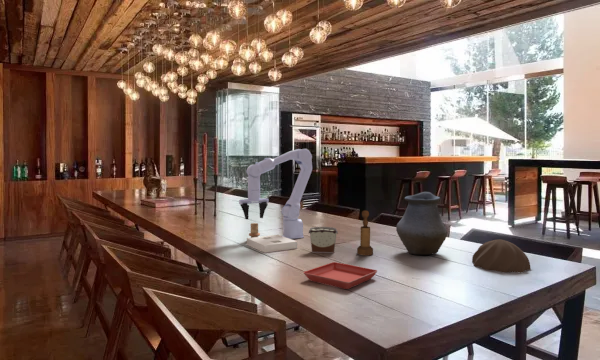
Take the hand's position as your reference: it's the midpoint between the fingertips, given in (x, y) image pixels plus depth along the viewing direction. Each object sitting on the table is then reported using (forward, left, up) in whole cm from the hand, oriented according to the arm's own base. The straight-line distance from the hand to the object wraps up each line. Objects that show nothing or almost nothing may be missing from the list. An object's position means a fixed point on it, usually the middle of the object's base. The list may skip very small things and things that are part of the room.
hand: (254, 218), depth 203 cm
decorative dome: (-59, +88, -11) cm, 107 cm away
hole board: (-1, +16, -11) cm, 19 cm away
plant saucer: (+2, +72, -11) cm, 73 cm away
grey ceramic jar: (-49, +59, -11) cm, 77 cm away
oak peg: (0, 0, -11) cm, 11 cm away
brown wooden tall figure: (-28, +48, -11) cm, 57 cm away
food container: (-16, +35, -11) cm, 40 cm away
